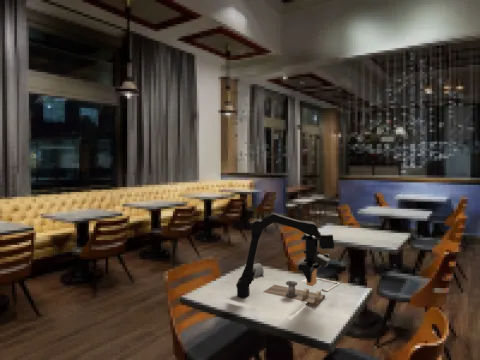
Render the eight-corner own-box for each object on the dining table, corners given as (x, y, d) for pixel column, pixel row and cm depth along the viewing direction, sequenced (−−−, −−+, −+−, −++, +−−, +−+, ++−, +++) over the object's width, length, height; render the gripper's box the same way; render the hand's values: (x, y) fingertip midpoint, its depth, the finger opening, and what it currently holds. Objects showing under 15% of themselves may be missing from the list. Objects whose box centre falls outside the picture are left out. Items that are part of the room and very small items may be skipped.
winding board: (315, 306, 159) (315, 290, 158) (263, 294, 174) (262, 280, 174) (325, 298, 169) (324, 283, 168) (274, 287, 184) (274, 273, 184)
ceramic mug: (245, 277, 202) (245, 264, 201) (256, 274, 206) (256, 261, 206) (255, 282, 193) (255, 269, 193) (267, 279, 198) (267, 266, 197)
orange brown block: (316, 283, 166) (316, 268, 166) (312, 286, 162) (312, 271, 162) (310, 281, 168) (310, 267, 167) (306, 285, 164) (306, 270, 163)
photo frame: (310, 275, 200) (339, 282, 188) (310, 277, 200) (339, 284, 188) (297, 282, 189) (327, 290, 177) (297, 284, 189) (327, 292, 177)
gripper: (320, 255, 152) (320, 290, 153) (334, 246, 167) (334, 278, 168) (297, 252, 158) (297, 285, 159) (312, 243, 173) (312, 274, 174)
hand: (311, 280), depth 165 cm, fingers closed on orange brown block, 5 cm apart
